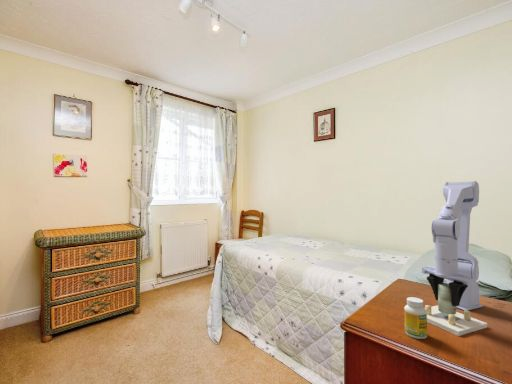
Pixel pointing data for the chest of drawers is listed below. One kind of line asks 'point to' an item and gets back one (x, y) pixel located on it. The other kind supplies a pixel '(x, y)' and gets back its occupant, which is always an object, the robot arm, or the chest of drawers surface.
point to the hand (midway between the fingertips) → (447, 302)
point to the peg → (445, 299)
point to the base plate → (454, 321)
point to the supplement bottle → (415, 318)
